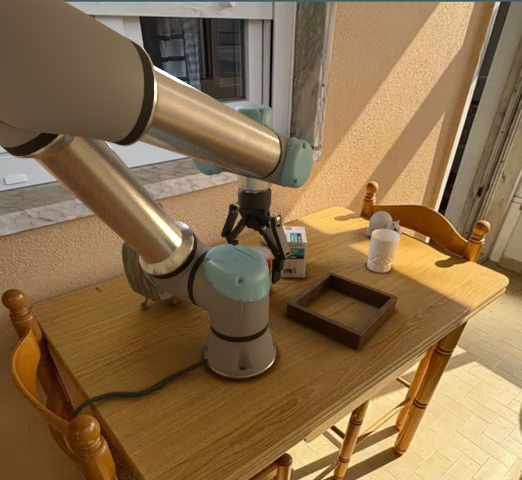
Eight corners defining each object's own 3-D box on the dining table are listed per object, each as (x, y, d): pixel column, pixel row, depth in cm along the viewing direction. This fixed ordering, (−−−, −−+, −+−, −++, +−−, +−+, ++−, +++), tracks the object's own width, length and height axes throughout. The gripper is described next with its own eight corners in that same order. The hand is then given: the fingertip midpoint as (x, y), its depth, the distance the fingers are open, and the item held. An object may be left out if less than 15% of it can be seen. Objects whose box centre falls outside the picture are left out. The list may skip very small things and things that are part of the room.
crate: (357, 349, 84) (360, 335, 81) (286, 316, 93) (286, 303, 90) (394, 310, 95) (397, 296, 93) (327, 284, 104) (329, 271, 102)
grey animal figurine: (390, 249, 120) (396, 223, 115) (361, 235, 128) (366, 210, 122) (404, 243, 124) (411, 217, 118) (376, 230, 131) (381, 205, 125)
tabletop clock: (175, 283, 104) (160, 189, 87) (200, 294, 100) (189, 198, 83) (134, 308, 95) (108, 209, 78) (159, 321, 91) (138, 219, 74)
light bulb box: (305, 278, 106) (308, 242, 99) (281, 278, 106) (282, 242, 99) (302, 260, 114) (305, 225, 107) (280, 259, 115) (281, 225, 107)
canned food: (239, 283, 104) (238, 246, 97) (268, 282, 105) (269, 245, 98) (241, 299, 98) (240, 260, 91) (271, 297, 99) (273, 259, 92)
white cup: (398, 269, 111) (407, 236, 104) (379, 276, 108) (387, 243, 101) (377, 258, 116) (385, 226, 109) (359, 265, 112) (365, 233, 106)
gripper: (311, 195, 80) (303, 283, 94) (224, 172, 92) (228, 253, 106) (290, 206, 76) (285, 295, 90) (202, 180, 87) (209, 263, 101)
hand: (254, 272), depth 98 cm, fingers open, 13 cm apart
